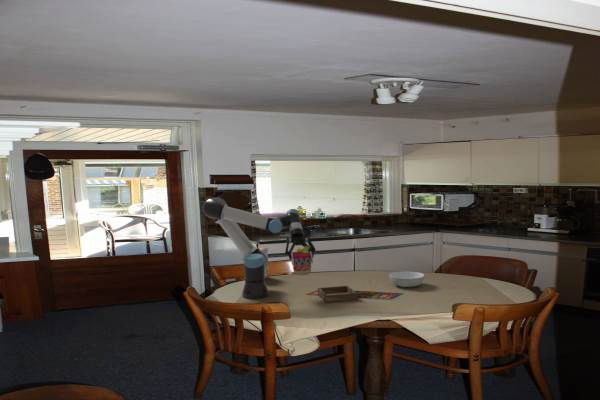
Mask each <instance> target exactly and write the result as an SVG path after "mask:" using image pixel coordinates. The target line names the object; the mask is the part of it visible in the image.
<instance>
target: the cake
mask: <svg viewBox="0 0 600 400" xmlns="http://www.w3.org/2000/svg"><path fill="white" fill-rule="evenodd" d="M308 246H309V245H308ZM308 246H305V247H304V246H303V248H301V247H299V248H297V249H296V252H295V253H292V254H293V259H294V265H292V266H293V267H292V270H293V274H294V275H297V276H306V275H307V276H308V275H310V274H312V264H311V254H310V252H309V251H308V250H309V247H310V246H309V247H308Z"/></svg>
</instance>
